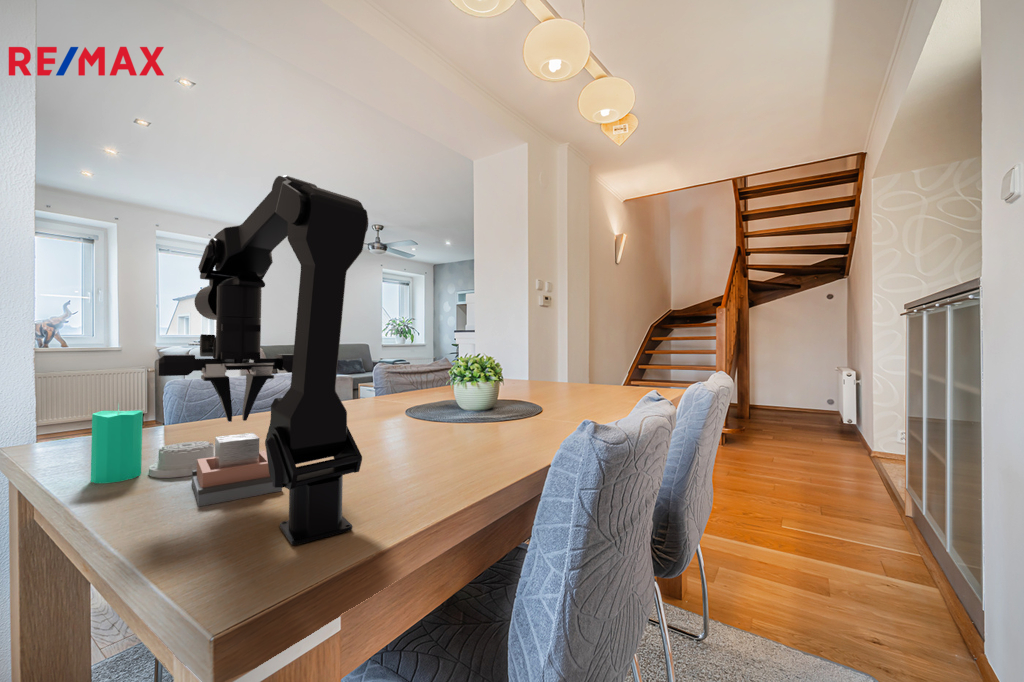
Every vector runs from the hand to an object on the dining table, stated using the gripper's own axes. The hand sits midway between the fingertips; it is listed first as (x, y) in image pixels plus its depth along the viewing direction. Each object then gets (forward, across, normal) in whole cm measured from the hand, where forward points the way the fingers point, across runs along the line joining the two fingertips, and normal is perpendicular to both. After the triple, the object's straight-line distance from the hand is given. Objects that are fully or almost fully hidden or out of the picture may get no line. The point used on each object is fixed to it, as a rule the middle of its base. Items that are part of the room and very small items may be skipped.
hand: (237, 421), depth 65 cm
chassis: (+10, 0, 0) cm, 10 cm away
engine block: (+8, 0, 0) cm, 9 cm away
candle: (+10, +14, -17) cm, 24 cm away
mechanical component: (+10, +5, -16) cm, 20 cm away
